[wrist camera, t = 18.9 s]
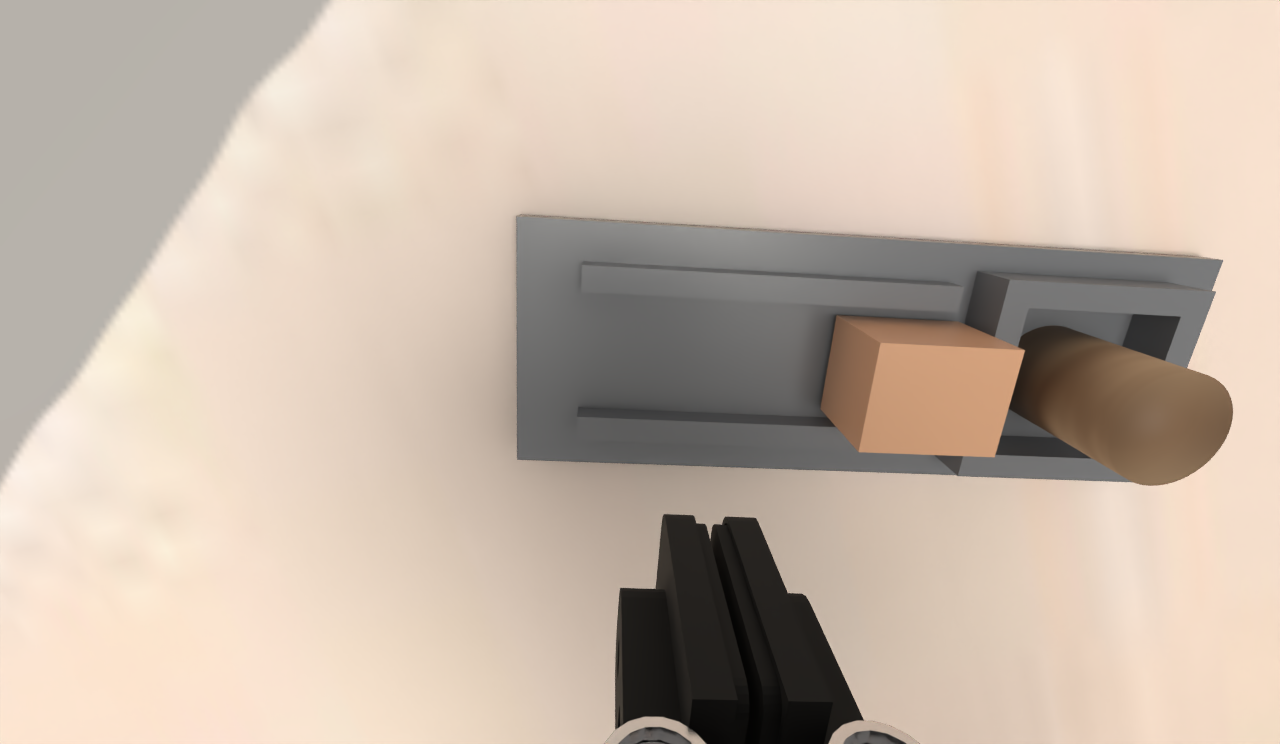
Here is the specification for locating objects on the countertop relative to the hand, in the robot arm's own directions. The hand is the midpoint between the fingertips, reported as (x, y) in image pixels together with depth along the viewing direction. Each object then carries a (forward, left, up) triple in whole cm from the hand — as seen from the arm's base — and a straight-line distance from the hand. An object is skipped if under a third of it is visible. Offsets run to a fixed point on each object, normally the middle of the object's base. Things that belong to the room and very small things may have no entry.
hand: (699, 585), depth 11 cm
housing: (0, -9, -15) cm, 17 cm away
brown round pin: (0, -16, -14) cm, 22 cm away
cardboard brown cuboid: (0, -10, -14) cm, 17 cm away
